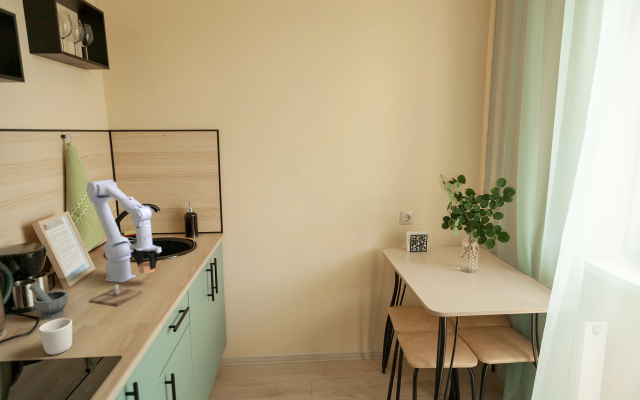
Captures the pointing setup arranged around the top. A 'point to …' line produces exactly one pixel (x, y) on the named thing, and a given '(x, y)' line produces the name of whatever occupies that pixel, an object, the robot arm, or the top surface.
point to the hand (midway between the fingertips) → (147, 267)
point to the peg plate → (116, 296)
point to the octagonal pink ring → (145, 268)
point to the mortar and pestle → (49, 302)
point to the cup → (56, 335)
